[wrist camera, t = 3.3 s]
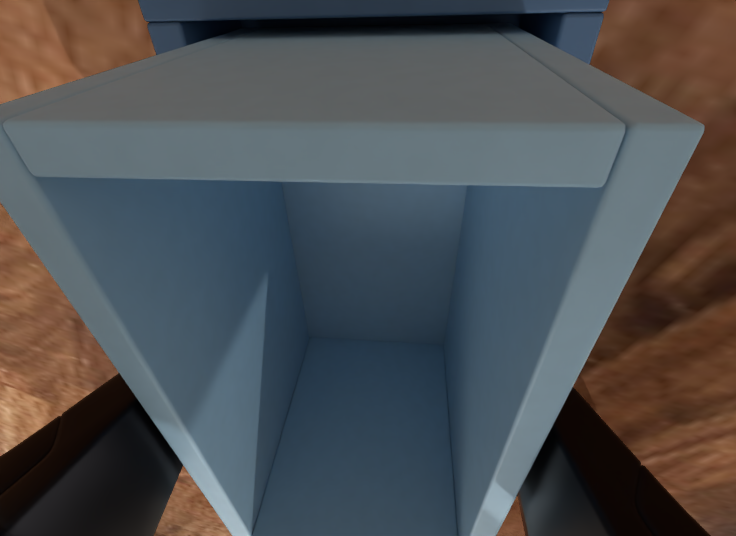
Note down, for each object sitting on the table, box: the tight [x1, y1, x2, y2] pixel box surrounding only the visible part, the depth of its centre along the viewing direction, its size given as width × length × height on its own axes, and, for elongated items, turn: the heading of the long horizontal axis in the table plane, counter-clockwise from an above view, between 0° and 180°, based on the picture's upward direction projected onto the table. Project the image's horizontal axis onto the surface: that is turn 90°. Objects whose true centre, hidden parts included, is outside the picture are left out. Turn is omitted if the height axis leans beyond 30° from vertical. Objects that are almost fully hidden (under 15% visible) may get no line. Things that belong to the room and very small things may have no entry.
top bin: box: [0, 23, 704, 536], centre depth 10 cm, size 12×7×8 cm, turn 1°
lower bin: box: [138, 0, 609, 64], centre depth 13 cm, size 14×9×4 cm, turn 1°
